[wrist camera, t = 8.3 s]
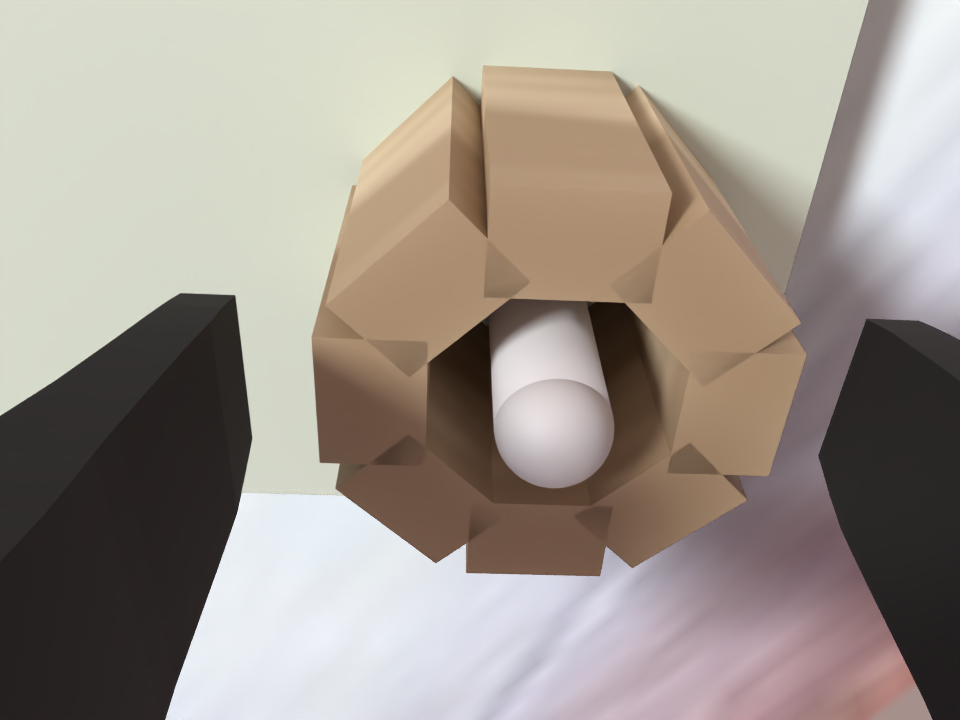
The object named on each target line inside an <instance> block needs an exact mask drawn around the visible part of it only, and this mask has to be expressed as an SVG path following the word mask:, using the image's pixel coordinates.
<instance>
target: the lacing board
mask: <svg viewBox="0 0 960 720" xmlns="http://www.w3.org/2000/svg"><path fill="white" fill-rule="evenodd" d="M868 1H869V0H0V415H2V414H4V413H5V412H7V411H8V410H10V409H11V408H13V407H15V406H16V405H18V404H19V403H21V402H22V401H24V400H26V399H27V398H29V397H30V396H32V395H33V394H35V393H36V392H38V391H40V390H41V389H43V388H44V387H46V386H47V385H49V384H51V383H52V382H54V381H55V380H57V379H58V378H59V377H61V376H62V375H64V374H65V373H67V372H68V371H69V370H71V369H72V368H74V367H75V366H76V365H78V364H79V363H81V362H82V361H84V360H85V359H86V358H88V357H89V356H91V355H92V354H93V353H95V352H96V351H98V350H99V349H101V348H102V347H103V346H105V345H106V344H108V343H109V342H110V341H112V340H113V339H115V338H116V337H117V336H119V335H120V334H122V333H123V332H124V331H126V330H127V329H128V328H130V327H131V326H133V325H134V324H135V323H137V322H138V321H139V320H141V319H142V318H144V317H145V316H146V315H148V314H149V313H151V312H152V311H154V310H155V309H156V308H158V307H159V306H161V305H162V304H164V303H165V302H167V301H168V300H170V299H171V298H173V297H175V296H176V295H178V294H180V293H193V294H220V295H235V296H236V304H237V313H238V321H239V329H240V338H241V346H242V355H243V363H244V371H245V380H246V388H247V396H248V405H249V413H250V421H251V430H252V444H251V449H250V454H249V459H248V464H247V469H246V474H245V479H244V484H243V488H242V493H273V494H309V495H343V494H342V493H340V492H339V491H338V490H336V489H335V487H336V481H337V476H338V470H339V465H340V464H335V463H320V461H319V446H318V430H317V415H316V400H315V385H314V370H313V354H312V339H311V337H312V333H313V329H314V326H315V322H316V318H317V315H318V311H319V307H320V303H321V300H322V296H323V292H324V289H325V285H326V281H327V277H328V274H329V270H330V266H331V263H332V259H333V255H334V251H335V248H336V244H337V240H338V236H339V233H340V229H341V225H342V222H343V218H344V214H345V210H346V207H347V203H348V199H349V196H350V192H351V188H352V185H357V181H358V177H359V173H360V170H361V166H362V162H363V159H364V158H365V157H366V156H367V155H368V154H369V153H371V152H372V151H373V150H374V149H375V148H376V147H377V146H378V145H379V144H380V143H381V142H382V141H383V140H385V139H386V138H387V137H388V136H389V135H390V134H391V133H392V132H393V131H394V130H395V129H396V128H397V127H399V126H400V125H401V124H402V123H403V122H404V121H405V120H406V119H407V118H408V117H409V116H410V115H411V114H413V113H414V112H415V111H416V110H417V109H418V108H419V107H420V106H421V105H422V104H423V103H424V102H425V101H426V100H428V99H429V98H430V97H431V96H432V95H433V94H434V93H435V92H436V91H437V90H438V89H439V88H440V87H442V86H443V85H444V84H445V83H446V82H447V81H448V80H449V79H450V78H451V77H452V76H453V77H454V78H455V79H456V80H457V81H458V82H459V84H460V85H461V86H462V87H463V88H464V89H465V90H466V91H467V92H468V93H469V95H470V96H471V97H472V98H473V99H474V100H475V101H476V102H477V103H478V104H479V105H480V107H481V89H482V70H483V65H490V66H510V67H531V68H551V69H571V70H591V71H612V73H613V75H614V77H615V79H616V81H617V83H618V85H619V87H620V89H621V91H622V93H623V95H624V97H625V96H626V95H628V94H629V93H630V92H631V91H632V90H634V89H635V88H636V87H637V86H638V85H639V86H640V87H641V89H642V90H643V91H644V92H645V94H646V95H647V96H648V97H649V99H650V100H651V101H652V102H653V104H654V105H655V106H656V107H657V109H658V110H659V111H660V112H661V114H662V115H663V116H664V117H665V119H666V120H667V121H668V123H669V124H670V125H671V126H672V128H673V129H674V130H675V131H676V133H677V134H678V135H679V136H680V138H681V139H682V140H683V141H684V143H685V144H686V145H687V146H688V148H689V149H690V150H691V151H692V153H693V154H694V155H695V157H696V158H697V159H698V160H699V162H700V163H701V164H702V165H703V167H704V168H705V169H706V170H707V172H708V173H709V174H710V176H711V177H712V179H713V180H714V182H715V184H716V185H717V187H718V189H719V190H720V192H721V193H722V195H723V197H724V198H725V200H726V202H727V203H728V205H729V206H730V208H731V210H732V211H733V213H734V215H735V216H736V218H737V219H738V221H739V223H740V224H741V226H742V228H743V229H744V231H745V232H746V234H747V236H748V237H749V239H750V241H751V242H752V244H753V245H754V247H755V249H756V250H757V252H758V254H759V255H760V257H761V258H762V260H763V262H764V263H765V265H766V267H767V268H768V270H769V271H770V273H771V275H772V276H773V278H774V279H775V281H776V283H777V284H778V286H779V288H780V289H781V291H782V292H783V294H784V295H785V292H786V288H787V285H788V281H789V278H790V274H791V271H792V267H793V264H794V260H795V257H796V253H797V250H798V246H799V243H800V239H801V236H802V232H803V229H804V225H805V222H806V218H807V215H808V211H809V208H810V204H811V201H812V197H813V194H814V190H815V187H816V183H817V180H818V176H819V173H820V169H821V166H822V162H823V159H824V155H825V152H826V148H827V145H828V141H829V138H830V134H831V131H832V127H833V124H834V120H835V117H836V113H837V110H838V106H839V103H840V99H841V96H842V92H843V89H844V85H845V82H846V78H847V75H848V71H849V68H850V64H851V61H852V57H853V54H854V50H855V47H856V43H857V40H858V36H859V33H860V29H861V26H862V22H863V19H864V15H865V12H866V8H867V5H868ZM593 303H595V302H592V301H565V300H539V299H512V298H511V299H509V300H508V301H507V302H505V303H504V304H503V305H502V306H500V307H499V308H498V309H496V310H495V311H494V312H493V313H491V314H490V315H489V316H487V317H486V318H485V319H484V320H482V322H483V323H484V324H485V325H486V326H489V338H490V359H491V380H492V401H493V423H494V436H495V442H496V445H497V448H498V451H499V453H500V455H501V457H502V459H503V460H504V462H505V463H506V465H507V466H508V467H509V468H510V469H511V470H512V471H513V472H514V473H515V474H516V475H517V476H519V477H520V478H522V479H523V480H525V481H527V482H529V483H531V484H533V485H536V486H540V487H545V488H565V487H569V486H572V485H575V484H578V483H580V482H582V481H584V480H586V479H588V478H589V477H590V476H592V475H593V474H594V473H595V472H596V471H597V470H598V469H599V468H600V467H601V466H602V464H603V463H604V461H605V460H606V458H607V456H608V454H609V452H610V450H611V447H612V443H613V439H614V419H613V414H612V409H611V405H610V401H609V397H608V392H607V388H606V384H605V380H604V375H603V371H602V367H601V362H600V358H599V354H598V350H597V345H596V341H595V337H594V332H593V328H592V324H591V320H590V315H589V311H588V307H589V306H591V305H592V304H593Z"/></svg>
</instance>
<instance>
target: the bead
mask: <svg viewBox="0 0 960 720" xmlns="http://www.w3.org/2000/svg"><path fill="white" fill-rule="evenodd" d="M511 298H512V299H539V300H565V301H592V302H595V303H593V304H592V305H591V306H589V307H588V311H589V315H590V320H591V324H592V328H593V332H594V337H595V341H596V345H597V350H598V354H599V358H600V362H601V367H602V371H603V375H604V380H605V384H606V388H607V392H608V397H609V401H610V405H611V409H612V414H613V419H614V439H613V443H612V447H611V450H610V452H609V454H608V456H607V458H606V460H605V461H604V463H603V464H602V466H601V467H600V468H599V469H598V470H597V471H596V472H595V473H594V474H593V475H592V476H590V477H589V478H588V479H586V480H584V481H582V482H580V483H578V484H575V485H572V486H569V487H565V488H545V487H540V486H536V485H533V484H531V483H529V482H527V481H525V480H523V479H522V478H520V477H519V476H517V475H516V474H515V473H514V472H513V471H512V470H511V469H510V468H509V467H508V466H507V465H506V463H505V462H504V460H503V459H502V457H501V455H500V453H499V451H498V448H497V445H496V442H495V436H494V423H493V401H492V380H491V359H490V338H489V326H486V325H485V324H484V323H483V322H482V320H484V319H485V318H486V317H487V316H489V315H490V314H491V313H493V312H494V311H495V310H496V309H498V308H499V307H500V306H502V305H503V304H504V303H505V302H507V301H508V300H509V299H511ZM799 324H801V322H800V320H799V318H798V317H797V315H796V314H795V312H794V310H793V309H792V307H791V305H790V304H789V302H788V301H787V299H786V297H785V296H784V294H783V292H782V291H781V289H780V288H779V286H778V284H777V283H776V281H775V279H774V278H773V276H772V275H771V273H770V271H769V270H768V268H767V267H766V265H765V263H764V262H763V260H762V258H761V257H760V255H759V254H758V252H757V250H756V249H755V247H754V245H753V244H752V242H751V241H750V239H749V237H748V236H747V234H746V232H745V231H744V229H743V228H742V226H741V224H740V223H739V221H738V219H737V218H736V216H735V215H734V213H733V211H732V210H731V208H730V206H729V205H728V203H727V202H726V200H725V198H724V197H723V195H722V193H721V192H720V190H719V189H718V187H717V185H716V184H715V182H714V180H713V179H712V177H711V176H710V174H709V173H708V172H707V170H706V169H705V168H704V167H703V165H702V164H701V163H700V162H699V160H698V159H697V158H696V157H695V155H694V154H693V153H692V151H691V150H690V149H689V148H688V146H687V145H686V144H685V143H684V141H683V140H682V139H681V138H680V136H679V135H678V134H677V133H676V131H675V130H674V129H673V128H672V126H671V125H670V124H669V123H668V121H667V120H666V119H665V117H664V116H663V115H662V114H661V112H660V111H659V110H658V109H657V107H656V106H655V105H654V104H653V102H652V101H651V100H650V99H649V97H648V96H647V95H646V94H645V92H644V91H643V90H642V89H641V87H640V86H639V85H638V86H637V87H636V88H635V89H634V90H632V91H631V92H630V93H629V94H628V95H626V96H625V97H624V95H623V93H622V91H621V89H620V87H619V85H618V83H617V81H616V79H615V77H614V75H613V73H612V71H591V70H571V69H551V68H531V67H510V66H490V65H483V70H482V89H481V107H480V105H479V104H478V103H477V102H476V101H475V100H474V99H473V98H472V97H471V96H470V95H469V93H468V92H467V91H466V90H465V89H464V88H463V87H462V86H461V85H460V84H459V82H458V81H457V80H456V79H455V78H454V77H453V76H452V77H451V78H450V79H449V80H448V81H447V82H446V83H445V84H444V85H443V86H442V87H440V88H439V89H438V90H437V91H436V92H435V93H434V94H433V95H432V96H431V97H430V98H429V99H428V100H426V101H425V102H424V103H423V104H422V105H421V106H420V107H419V108H418V109H417V110H416V111H415V112H414V113H413V114H411V115H410V116H409V117H408V118H407V119H406V120H405V121H404V122H403V123H402V124H401V125H400V126H399V127H397V128H396V129H395V130H394V131H393V132H392V133H391V134H390V135H389V136H388V137H387V138H386V139H385V140H383V141H382V142H381V143H380V144H379V145H378V146H377V147H376V148H375V149H374V150H373V151H372V152H371V153H369V154H368V155H367V156H366V157H365V158H364V159H363V162H362V166H361V170H360V173H359V177H358V181H357V185H352V188H351V192H350V196H349V199H348V203H347V207H346V210H345V214H344V218H343V222H342V225H341V229H340V233H339V236H338V240H337V244H336V248H335V251H334V255H333V259H332V263H331V266H330V270H329V274H328V277H327V281H326V285H325V289H324V292H323V296H322V300H321V303H320V307H319V311H318V315H317V318H316V322H315V326H314V329H313V333H312V337H311V339H312V354H313V370H314V385H315V400H316V415H317V430H318V446H319V461H320V463H335V464H340V465H339V470H338V476H337V481H336V487H335V489H336V490H338V491H339V492H340V493H342V494H343V495H344V496H346V497H347V498H348V499H350V500H351V501H352V502H354V503H355V504H356V505H358V506H359V507H360V508H362V509H363V510H365V511H366V512H367V513H369V514H370V515H371V516H373V517H374V518H375V519H377V520H378V521H379V522H381V523H382V524H383V525H385V526H386V527H388V528H389V529H390V530H392V531H393V532H394V533H396V534H397V535H398V536H400V537H401V538H402V539H404V540H405V541H406V542H408V543H409V544H410V545H412V546H413V547H415V548H416V549H417V550H419V551H420V552H421V553H423V554H424V555H425V556H427V557H428V558H429V559H431V560H432V561H433V562H435V563H437V562H439V561H440V560H442V559H443V558H445V557H446V556H448V555H449V554H451V553H452V552H454V551H455V550H457V549H458V548H460V547H461V546H463V545H464V544H466V573H490V574H532V575H573V576H600V574H601V569H602V563H603V558H604V553H605V547H606V546H607V547H608V548H609V549H610V550H612V551H613V552H614V553H615V554H616V555H617V556H619V557H620V558H621V559H622V560H623V561H625V562H626V563H627V564H628V565H629V566H630V567H632V568H633V567H635V566H637V565H638V564H640V563H642V562H643V561H645V560H647V559H649V558H650V557H652V556H654V555H655V554H657V553H659V552H660V551H662V550H664V549H666V548H667V547H669V546H671V545H672V544H674V543H676V542H678V541H679V540H681V539H683V538H684V537H686V536H688V535H689V534H691V533H693V532H695V531H696V530H698V529H700V528H701V527H703V526H705V525H706V524H708V523H710V522H712V521H713V520H715V519H717V518H718V517H720V516H722V515H723V514H725V513H727V512H729V511H730V510H732V509H734V508H735V507H737V506H739V505H740V504H742V503H744V502H746V501H747V498H746V495H745V493H744V490H743V487H742V485H741V482H740V480H739V477H738V475H744V476H769V473H770V470H771V467H772V464H773V461H774V457H775V454H776V451H777V448H778V445H779V442H780V438H781V435H782V432H783V429H784V426H785V423H786V419H787V416H788V413H789V410H790V407H791V404H792V400H793V397H794V394H795V391H796V388H797V385H798V381H799V378H800V375H801V372H802V369H803V366H804V362H805V359H806V356H807V354H806V353H805V351H804V349H803V348H802V346H801V344H800V343H799V341H798V339H797V337H796V336H795V334H794V332H793V331H792V329H793V328H795V327H796V326H798V325H799Z"/></svg>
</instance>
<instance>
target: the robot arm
mask: <svg viewBox="0 0 960 720" xmlns="http://www.w3.org/2000/svg"><path fill="white" fill-rule="evenodd" d="M251 444H252V430H251V421H250V413H249V405H248V396H247V388H246V380H245V371H244V363H243V355H242V346H241V338H240V329H239V321H238V313H237V304H236V296H235V295H220V294H193V293H180V294H178V295H176V296H175V297H173V298H171V299H170V300H168V301H167V302H165V303H164V304H162V305H161V306H159V307H158V308H156V309H155V310H154V311H152V312H151V313H149V314H148V315H146V316H145V317H144V318H142V319H141V320H139V321H138V322H137V323H135V324H134V325H133V326H131V327H130V328H128V329H127V330H126V331H124V332H123V333H122V334H120V335H119V336H117V337H116V338H115V339H113V340H112V341H110V342H109V343H108V344H106V345H105V346H103V347H102V348H101V349H99V350H98V351H96V352H95V353H93V354H92V355H91V356H89V357H88V358H86V359H85V360H84V361H82V362H81V363H79V364H78V365H76V366H75V367H74V368H72V369H71V370H69V371H68V372H67V373H65V374H64V375H62V376H61V377H59V378H58V379H57V380H55V381H54V382H52V383H51V384H49V385H47V386H46V387H44V388H43V389H41V390H40V391H38V392H36V393H35V394H33V395H32V396H30V397H29V398H27V399H26V400H24V401H22V402H21V403H19V404H18V405H16V406H15V407H13V408H11V409H10V410H8V411H7V412H5V413H4V414H2V415H0V720H165V718H166V715H167V712H168V709H169V706H170V702H171V699H172V696H173V693H174V689H175V686H176V683H177V680H178V678H179V675H180V672H181V669H182V667H183V664H184V661H185V658H186V655H187V653H188V650H189V647H190V644H191V641H192V639H193V636H194V633H195V630H196V628H197V625H198V622H199V619H200V616H201V614H202V611H203V608H204V605H205V603H206V600H207V597H208V594H209V591H210V589H211V586H212V583H213V580H214V578H215V575H216V572H217V569H218V566H219V563H220V561H221V558H222V555H223V552H224V549H225V546H226V543H227V541H228V538H229V535H230V532H231V529H232V526H233V523H234V520H235V517H236V514H237V511H238V506H239V502H240V497H241V493H242V488H243V484H244V479H245V474H246V469H247V464H248V459H249V454H250V449H251ZM818 456H819V460H820V463H821V466H822V470H823V473H824V477H825V480H826V484H827V487H828V491H829V494H830V497H831V500H832V503H833V506H834V509H835V512H836V515H837V518H838V521H839V524H840V527H841V530H842V532H843V534H844V536H845V539H846V541H847V543H848V545H849V547H850V549H851V552H852V554H853V556H854V558H855V560H856V562H857V564H858V566H859V568H860V570H861V572H862V575H863V577H864V579H865V581H866V583H867V585H868V587H869V589H870V591H871V593H872V595H873V597H874V599H875V601H876V603H877V605H878V607H879V609H880V611H881V614H882V616H883V618H884V620H885V622H886V624H887V626H888V628H889V630H890V632H891V634H892V636H893V638H894V640H895V642H896V644H897V646H898V648H899V650H900V652H901V654H902V656H903V658H904V660H905V662H906V664H907V666H908V668H909V670H910V672H911V674H912V677H913V679H914V681H915V683H916V685H917V687H918V689H919V691H920V693H921V695H922V697H923V699H924V701H925V703H926V706H927V708H928V710H929V713H930V715H931V717H932V719H933V720H960V340H959V339H957V338H955V337H953V336H951V335H949V334H947V333H945V332H943V331H941V330H939V329H936V328H934V327H932V326H930V325H927V324H925V323H923V322H920V321H910V320H884V319H866V322H865V325H864V328H863V330H862V333H861V336H860V339H859V342H858V345H857V348H856V350H855V353H854V356H853V359H852V362H851V365H850V367H849V370H848V373H847V376H846V379H845V382H844V384H843V387H842V390H841V393H840V396H839V399H838V401H837V404H836V407H835V410H834V413H833V416H832V418H831V421H830V424H829V427H828V430H827V433H826V436H825V438H824V441H823V444H822V447H821V450H820V453H819V455H818Z"/></svg>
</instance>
